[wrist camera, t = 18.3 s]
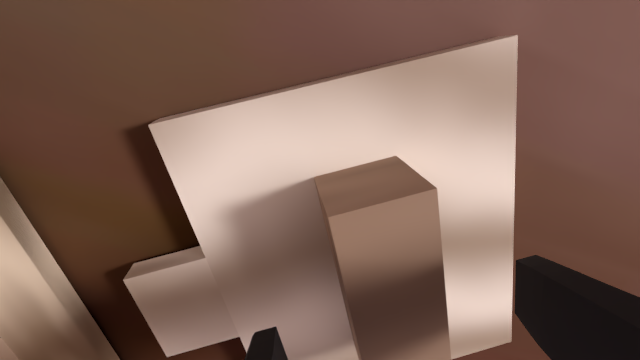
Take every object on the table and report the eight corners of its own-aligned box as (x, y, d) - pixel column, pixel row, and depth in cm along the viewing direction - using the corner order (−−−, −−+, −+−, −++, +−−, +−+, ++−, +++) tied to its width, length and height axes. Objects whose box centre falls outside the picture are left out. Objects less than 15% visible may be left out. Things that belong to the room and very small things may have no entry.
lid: (497, 325, 17) (562, 402, 13) (212, 409, 16) (195, 516, 12) (497, 36, 11) (608, 27, 8) (67, 141, 11) (-42, 187, 7)
